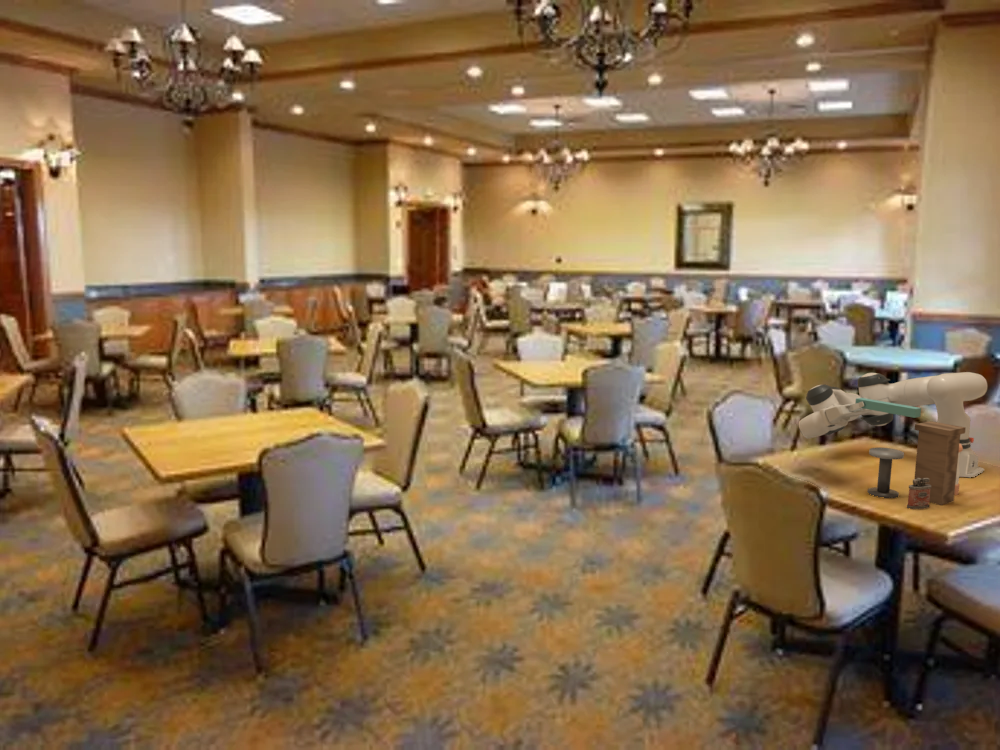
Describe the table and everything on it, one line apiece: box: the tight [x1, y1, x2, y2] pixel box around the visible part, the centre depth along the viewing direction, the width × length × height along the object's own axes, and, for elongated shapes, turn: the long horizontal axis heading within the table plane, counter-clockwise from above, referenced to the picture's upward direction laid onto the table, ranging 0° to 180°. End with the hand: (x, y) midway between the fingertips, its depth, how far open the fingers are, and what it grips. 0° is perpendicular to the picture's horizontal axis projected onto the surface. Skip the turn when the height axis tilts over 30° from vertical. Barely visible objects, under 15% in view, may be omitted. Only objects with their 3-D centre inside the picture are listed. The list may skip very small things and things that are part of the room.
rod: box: [855, 398, 922, 419], centre depth 292 cm, size 4×22×3 cm, turn 34°
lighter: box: [906, 478, 931, 510], centre depth 281 cm, size 8×3×10 cm, turn 105°
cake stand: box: [867, 447, 905, 499], centre depth 295 cm, size 11×11×16 cm
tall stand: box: [914, 420, 966, 506], centre depth 288 cm, size 10×12×26 cm
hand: (868, 402), depth 298 cm, fingers closed on rod, 3 cm apart
